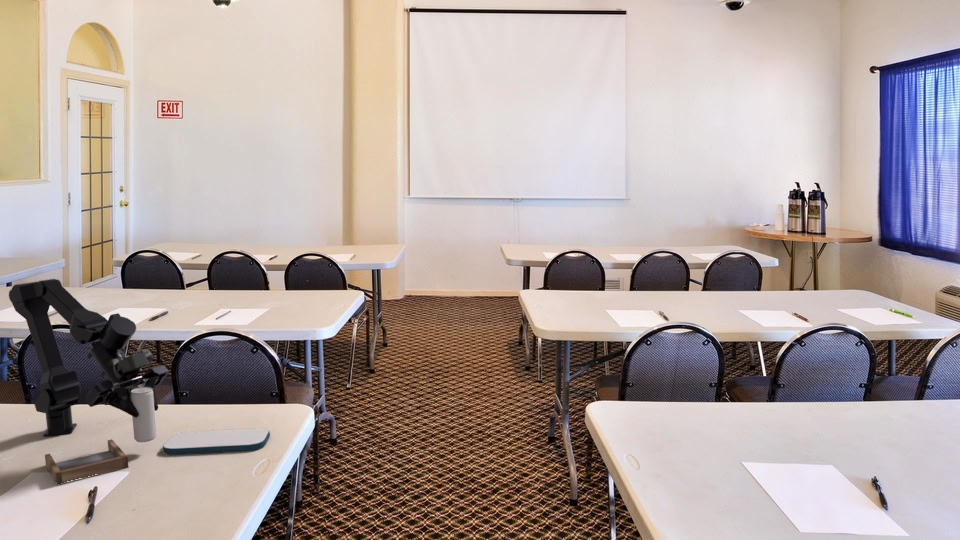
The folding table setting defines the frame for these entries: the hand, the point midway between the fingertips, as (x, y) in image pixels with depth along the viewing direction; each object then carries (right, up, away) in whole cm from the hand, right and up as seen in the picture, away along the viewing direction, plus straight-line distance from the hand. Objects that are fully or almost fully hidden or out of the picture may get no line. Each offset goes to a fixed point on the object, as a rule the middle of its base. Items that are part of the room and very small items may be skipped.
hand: (147, 413), depth 169 cm
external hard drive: (+14, -9, +6) cm, 18 cm away
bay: (-11, -11, -5) cm, 16 cm away
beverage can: (-1, -7, +2) cm, 7 cm away
